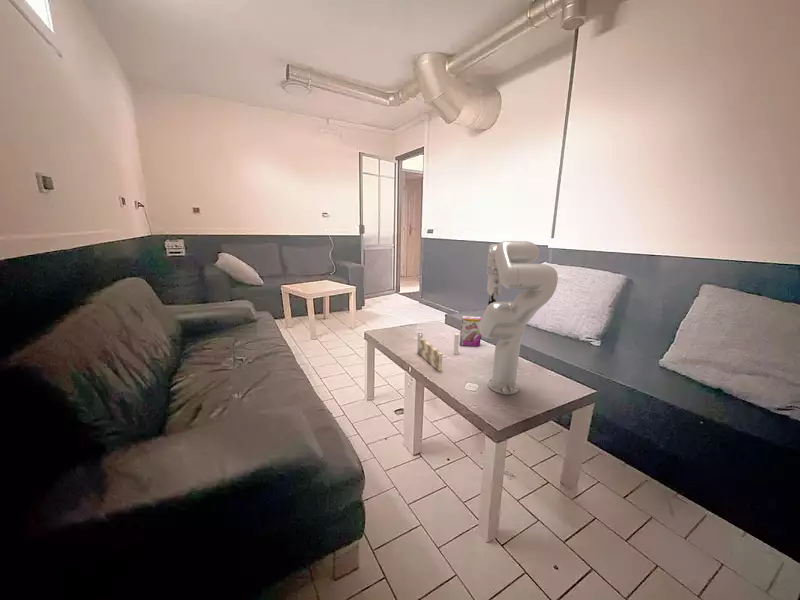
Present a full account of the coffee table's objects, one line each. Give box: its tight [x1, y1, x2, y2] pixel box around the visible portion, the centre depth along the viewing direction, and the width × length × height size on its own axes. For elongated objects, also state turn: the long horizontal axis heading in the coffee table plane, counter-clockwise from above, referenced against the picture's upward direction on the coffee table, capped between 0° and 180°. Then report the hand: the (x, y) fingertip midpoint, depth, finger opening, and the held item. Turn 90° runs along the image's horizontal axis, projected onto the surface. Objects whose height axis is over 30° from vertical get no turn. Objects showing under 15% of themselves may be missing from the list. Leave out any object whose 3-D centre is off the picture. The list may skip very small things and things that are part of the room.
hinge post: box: [416, 332, 424, 356], centre depth 164 cm, size 2×2×11 cm
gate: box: [419, 338, 443, 372], centre depth 154 cm, size 20×2×8 cm, turn 23°
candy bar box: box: [459, 315, 482, 347], centre depth 176 cm, size 11×5×16 cm, turn 84°
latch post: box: [453, 332, 460, 355], centre depth 165 cm, size 2×2×11 cm
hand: (491, 308), depth 152 cm, fingers closed
